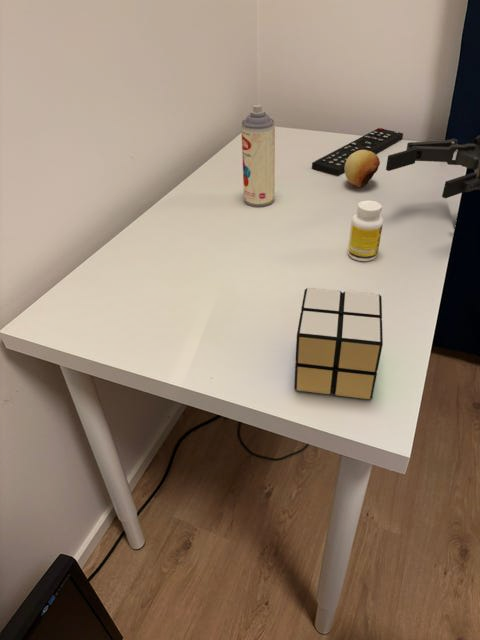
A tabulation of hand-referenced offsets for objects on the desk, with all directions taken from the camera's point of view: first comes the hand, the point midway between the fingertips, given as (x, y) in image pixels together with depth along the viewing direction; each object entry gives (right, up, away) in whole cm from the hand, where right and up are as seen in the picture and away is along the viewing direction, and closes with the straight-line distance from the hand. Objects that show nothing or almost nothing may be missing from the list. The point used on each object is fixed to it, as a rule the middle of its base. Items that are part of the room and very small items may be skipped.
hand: (415, 176), depth 84 cm
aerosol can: (-26, +2, +24) cm, 35 cm away
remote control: (+1, +19, +43) cm, 47 cm away
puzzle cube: (-18, -32, -18) cm, 41 cm away
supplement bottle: (-8, -13, +5) cm, 16 cm away
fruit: (-3, +6, +27) cm, 28 cm away
